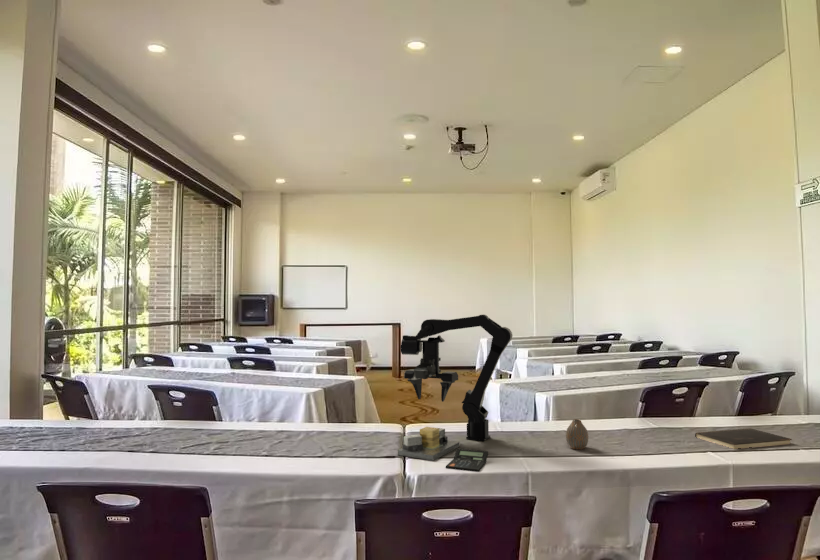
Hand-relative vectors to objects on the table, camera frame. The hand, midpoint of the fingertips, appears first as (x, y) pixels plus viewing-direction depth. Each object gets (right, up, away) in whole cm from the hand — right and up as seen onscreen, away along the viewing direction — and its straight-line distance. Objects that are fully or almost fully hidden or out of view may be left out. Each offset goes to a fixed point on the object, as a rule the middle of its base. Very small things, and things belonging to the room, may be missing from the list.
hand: (430, 400), depth 192 cm
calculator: (+9, -11, -35) cm, 37 cm away
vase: (+46, -11, -18) cm, 50 cm away
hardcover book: (+103, -12, -9) cm, 104 cm away
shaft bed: (-1, -11, -21) cm, 23 cm away
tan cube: (-1, -10, -20) cm, 22 cm away
